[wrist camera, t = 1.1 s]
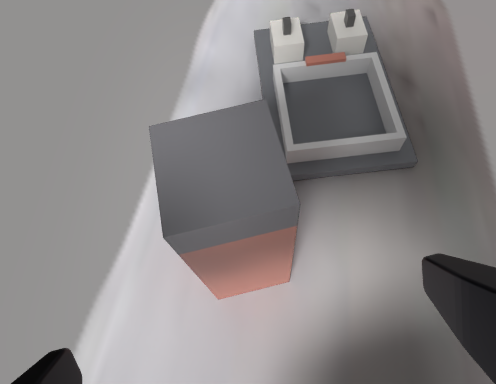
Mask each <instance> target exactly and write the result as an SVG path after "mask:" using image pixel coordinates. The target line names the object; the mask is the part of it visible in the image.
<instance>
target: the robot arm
mask: <svg viewBox="0 0 496 384" xmlns="http://www.w3.org/2000/svg"><path fill="white" fill-rule="evenodd" d="M422 274H423V286H424V290H425V292H426V294H427V296H428V297H429V299H430V300H431V301H432V303H433V304H434V306H435V307H436V309H437V310H438V311H439V313H440V314H441V316H442V317H443V319H444V320H445V322H446V323H447V324H448V326H449V327H450V329H451V330H452V332H453V333H454V335H455V336H456V337H457V339H458V340H459V341H460V343H461V344H462V346H463V347H464V348H465V349H466V350H467V352H468V353H469V354H470V355H471V357H472V358H473V359H474V360H475V361H476V362H477V364H478V365H479V366H480V367H481V368H482V369H483V371H484V372H485V373H486V374H487V375H488V376H489V378H490V379H491V380H492V381H493V382H494V383H495V384H496V268H495V267H491V266H487V265H484V264H480V263H476V262H472V261H468V260H464V259H460V258H456V257H452V256H448V255H444V254H434V255H430V256H426V257H424V258H423V259H422ZM11 384H82V374H81V371H80V369H79V367H78V365H77V363H76V360H75V358H74V356H73V354H72V352H71V350H69V349H68V348H62V349H59V350H55V351H51V352H49V353H48V354H46V355H45V356H44V357H43V358H41V359H40V360H39V361H38V362H37V363H36V364H34V365H33V366H32V367H31V368H29V369H28V370H27V371H26V372H24V373H23V374H22V375H21V376H20V377H18V378H17V379H16V380H15V381H14V382H12V383H11Z"/></svg>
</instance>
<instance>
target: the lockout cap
mask: <svg viewBox="0 0 496 384" xmlns="http://www.w3.org/2000/svg"><path fill="white" fill-rule="evenodd" d="M149 131H150V139H151V146H152V154H153V162H154V170H155V178H156V186H157V193H158V201H159V209H160V217H161V225H162V232H163V238H164V239H165V240H166V241H167V242H168V244H169V245H170V246H171V247H172V248H173V249H174V250H175V251H176V253H177V254H178V255H179V256H180V257H181V258H182V259H183V260H184V262H185V263H186V264H187V265H188V266H189V267H190V268H191V269H192V270H193V272H194V273H195V274H196V275H197V276H198V277H199V278H200V279H201V281H202V282H203V283H204V284H205V285H206V286H207V287H208V288H209V290H210V291H211V292H212V293H213V294H214V295H215V296H216V297H217V299H222V298H226V297H230V296H234V295H238V294H242V293H246V292H250V291H254V290H258V289H262V288H266V287H270V286H274V285H278V284H282V283H286V282H289V279H290V272H291V265H292V259H293V252H294V245H295V238H296V231H297V224H298V217H299V210H300V201H299V198H298V195H297V192H296V189H295V186H294V183H293V180H292V177H291V174H290V171H289V168H288V165H287V162H286V159H285V156H284V153H283V150H282V147H281V144H280V141H279V138H278V135H277V132H276V129H275V126H274V123H273V120H272V117H271V114H270V111H269V108H268V105H267V102H266V99H264V100H260V101H256V102H251V103H247V104H243V105H238V106H234V107H230V108H225V109H221V110H217V111H213V112H208V113H204V114H200V115H195V116H191V117H187V118H182V119H178V120H174V121H170V122H165V123H161V124H157V125H152V126H149Z"/></svg>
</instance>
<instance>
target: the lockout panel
mask: <svg viewBox="0 0 496 384" xmlns="http://www.w3.org/2000/svg"><path fill="white" fill-rule="evenodd" d="M254 39H255V46H256V53H257V60H258V67H259V75H260V82H261V89H262V96H263V100H264V99H266V102H267V105H268V108H269V111H270V114H271V117H272V120H273V123H274V126H275V129H276V132H277V135H278V138H279V141H280V144H281V147H282V150H283V153H284V156H285V159H286V162H287V165H288V168H289V171H290V174H291V177H292V180H293V181H294V180H303V179H311V178H320V177H329V176H338V175H347V174H356V173H364V172H373V171H382V170H391V169H400V168H408V167H414V166H415V164H416V163H417V161H418V160H417V158H416V155H415V152H414V149H413V146H412V143H411V141H410V138H409V135H408V132H407V129H406V127H405V124H404V121H403V118H402V115H401V112H400V110H399V107H398V104H397V101H396V98H395V96H394V93H393V90H392V87H391V84H390V81H389V79H388V76H387V73H386V70H385V67H384V65H383V62H382V59H381V56H380V53H379V51H378V48H377V45H376V42H375V39H374V36H373V34H372V31H371V28H370V25H369V22H368V20H367V17H366V16H365V17H362V16H361V13H360V10H354V9H348V10H346V11H344V12H336V13H330V17H329V21H326V22H318V23H310V24H302V25H300V21H299V17H296V18H290V17H285V18H282V19H281V20H273V21H270V29H262V30H254Z"/></svg>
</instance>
